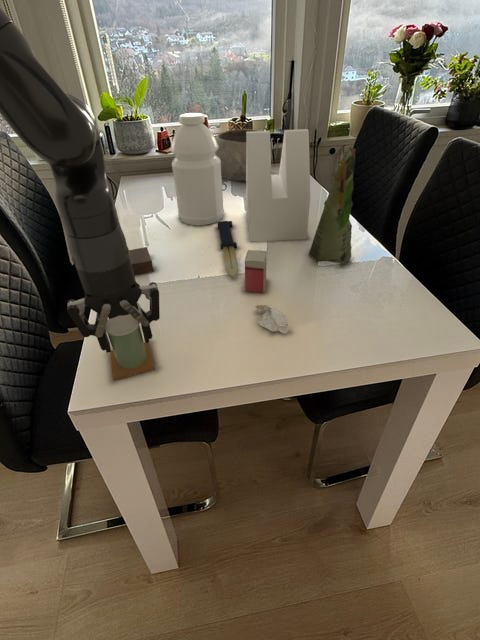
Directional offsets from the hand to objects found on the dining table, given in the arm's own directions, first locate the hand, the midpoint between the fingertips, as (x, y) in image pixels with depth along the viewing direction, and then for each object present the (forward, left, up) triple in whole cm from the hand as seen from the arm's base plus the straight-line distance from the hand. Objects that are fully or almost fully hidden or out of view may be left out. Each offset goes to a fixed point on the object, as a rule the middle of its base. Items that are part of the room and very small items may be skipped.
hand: (127, 344), depth 64 cm
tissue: (+27, +1, -4) cm, 27 cm away
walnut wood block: (+5, +33, -4) cm, 34 cm away
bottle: (+28, +57, -4) cm, 64 cm away
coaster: (0, 0, -4) cm, 4 cm away
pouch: (+51, +19, -4) cm, 54 cm away
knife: (+29, +33, -4) cm, 44 cm away
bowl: (+53, +89, -4) cm, 104 cm away
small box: (+29, +14, -4) cm, 32 cm away
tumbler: (0, 0, -3) cm, 3 cm away
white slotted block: (+46, +42, -4) cm, 62 cm away
